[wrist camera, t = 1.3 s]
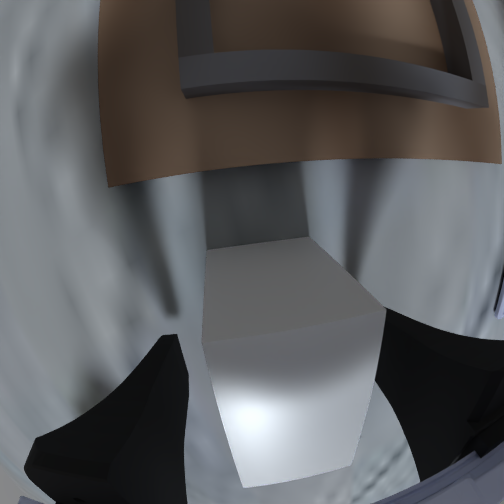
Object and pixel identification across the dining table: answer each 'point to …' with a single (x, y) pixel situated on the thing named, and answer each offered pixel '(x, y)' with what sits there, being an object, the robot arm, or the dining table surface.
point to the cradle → (291, 83)
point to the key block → (289, 357)
